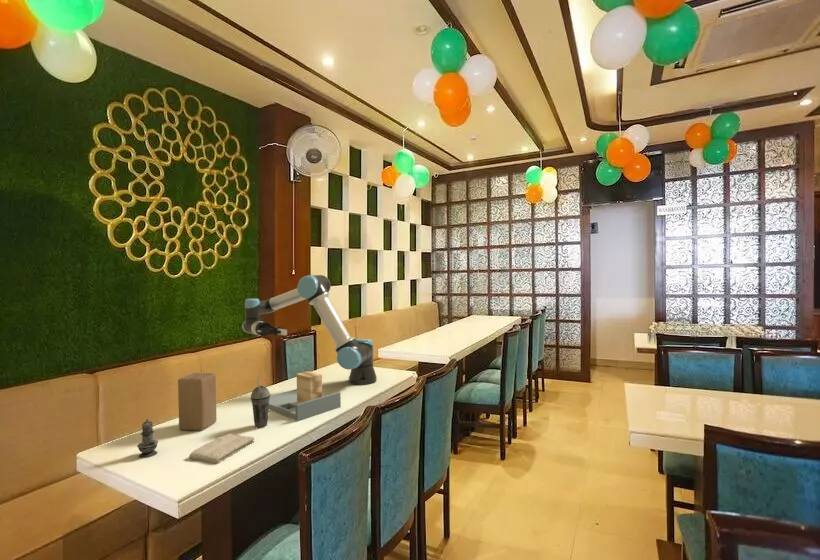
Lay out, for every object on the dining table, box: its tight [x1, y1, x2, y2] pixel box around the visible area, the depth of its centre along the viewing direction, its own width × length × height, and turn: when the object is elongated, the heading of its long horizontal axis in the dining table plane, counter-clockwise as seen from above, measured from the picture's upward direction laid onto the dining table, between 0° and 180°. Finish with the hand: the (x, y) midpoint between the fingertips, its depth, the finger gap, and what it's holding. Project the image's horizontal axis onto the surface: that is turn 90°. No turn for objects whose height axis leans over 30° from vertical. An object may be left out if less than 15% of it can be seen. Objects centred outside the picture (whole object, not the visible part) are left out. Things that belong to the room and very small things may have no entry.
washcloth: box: [189, 433, 255, 464], centre depth 137 cm, size 12×18×3 cm, turn 162°
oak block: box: [296, 370, 323, 404], centre depth 177 cm, size 6×10×13 cm, turn 50°
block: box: [177, 372, 218, 431], centre depth 159 cm, size 10×10×20 cm
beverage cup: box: [250, 375, 271, 429], centre depth 158 cm, size 7×7×20 cm
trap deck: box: [268, 388, 342, 422], centre depth 182 cm, size 22×32×6 cm
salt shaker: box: [136, 418, 159, 459], centre depth 135 cm, size 6×6×12 cm
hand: (285, 332), depth 202 cm, fingers closed
